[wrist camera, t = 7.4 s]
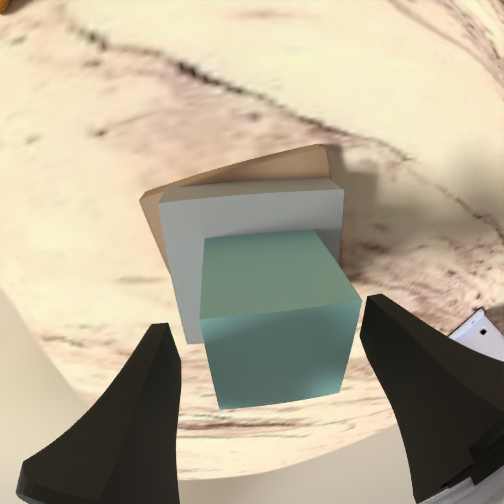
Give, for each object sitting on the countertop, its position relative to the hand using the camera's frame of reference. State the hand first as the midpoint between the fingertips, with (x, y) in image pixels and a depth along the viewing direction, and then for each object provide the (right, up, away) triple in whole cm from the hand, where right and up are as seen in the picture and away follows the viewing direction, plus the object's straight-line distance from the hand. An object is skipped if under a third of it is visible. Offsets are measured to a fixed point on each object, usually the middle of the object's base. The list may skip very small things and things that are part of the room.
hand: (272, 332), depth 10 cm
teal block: (0, +2, +3) cm, 3 cm away
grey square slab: (-1, +3, +5) cm, 6 cm away
